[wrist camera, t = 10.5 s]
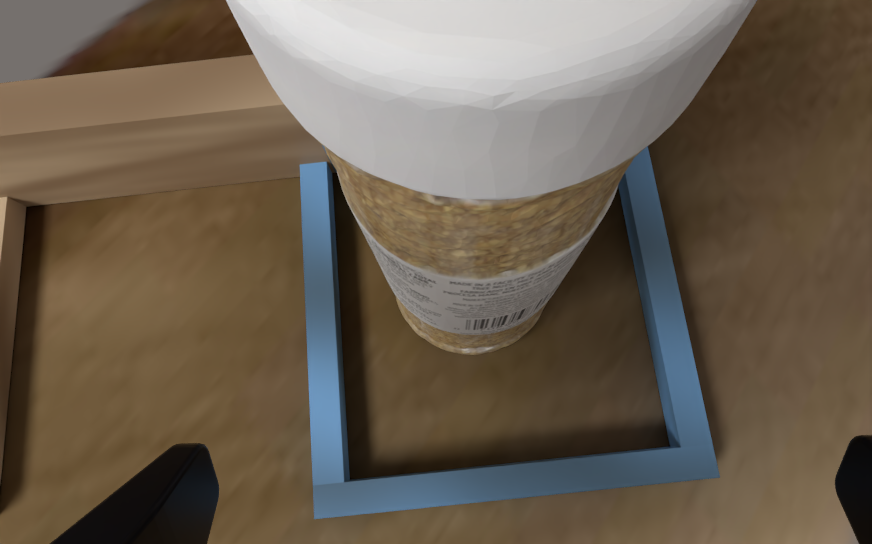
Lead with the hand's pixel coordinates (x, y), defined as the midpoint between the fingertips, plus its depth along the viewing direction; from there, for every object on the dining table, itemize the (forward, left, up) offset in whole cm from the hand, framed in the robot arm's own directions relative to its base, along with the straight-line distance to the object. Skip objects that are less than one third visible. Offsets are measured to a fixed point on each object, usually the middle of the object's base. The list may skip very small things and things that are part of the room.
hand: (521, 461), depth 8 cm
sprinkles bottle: (+5, 0, -8) cm, 9 cm away
